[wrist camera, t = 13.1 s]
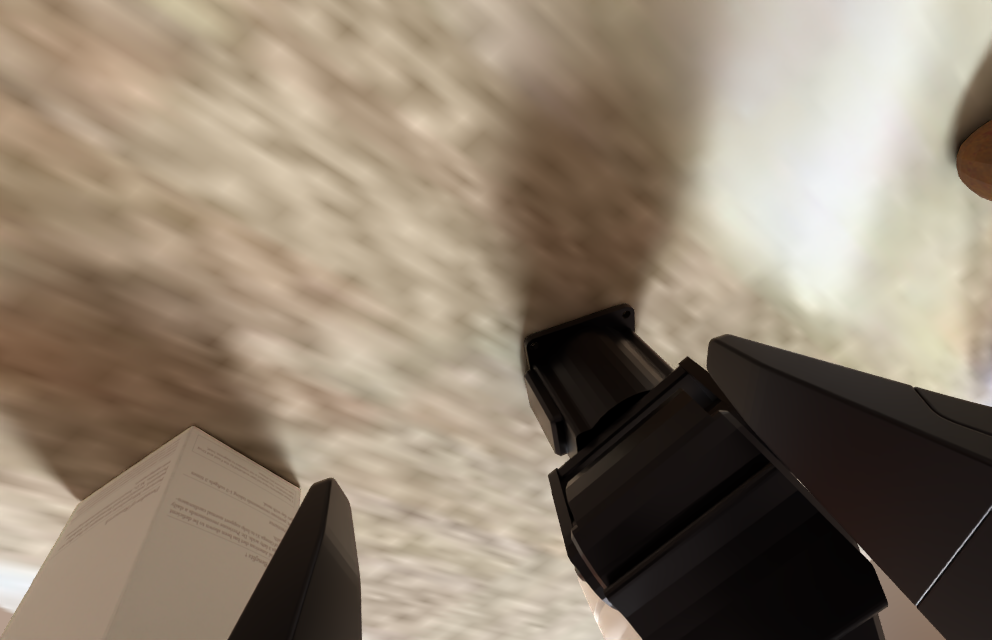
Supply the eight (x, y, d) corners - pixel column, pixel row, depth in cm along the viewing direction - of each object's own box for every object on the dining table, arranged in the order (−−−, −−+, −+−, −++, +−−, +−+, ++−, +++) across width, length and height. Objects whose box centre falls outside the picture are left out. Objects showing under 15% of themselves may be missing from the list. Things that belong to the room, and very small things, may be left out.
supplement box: (72, 501, 21) (-192, 931, 11) (195, 419, 21) (44, 781, 10) (203, 557, 25) (103, 905, 15) (307, 489, 25) (279, 796, 15)
